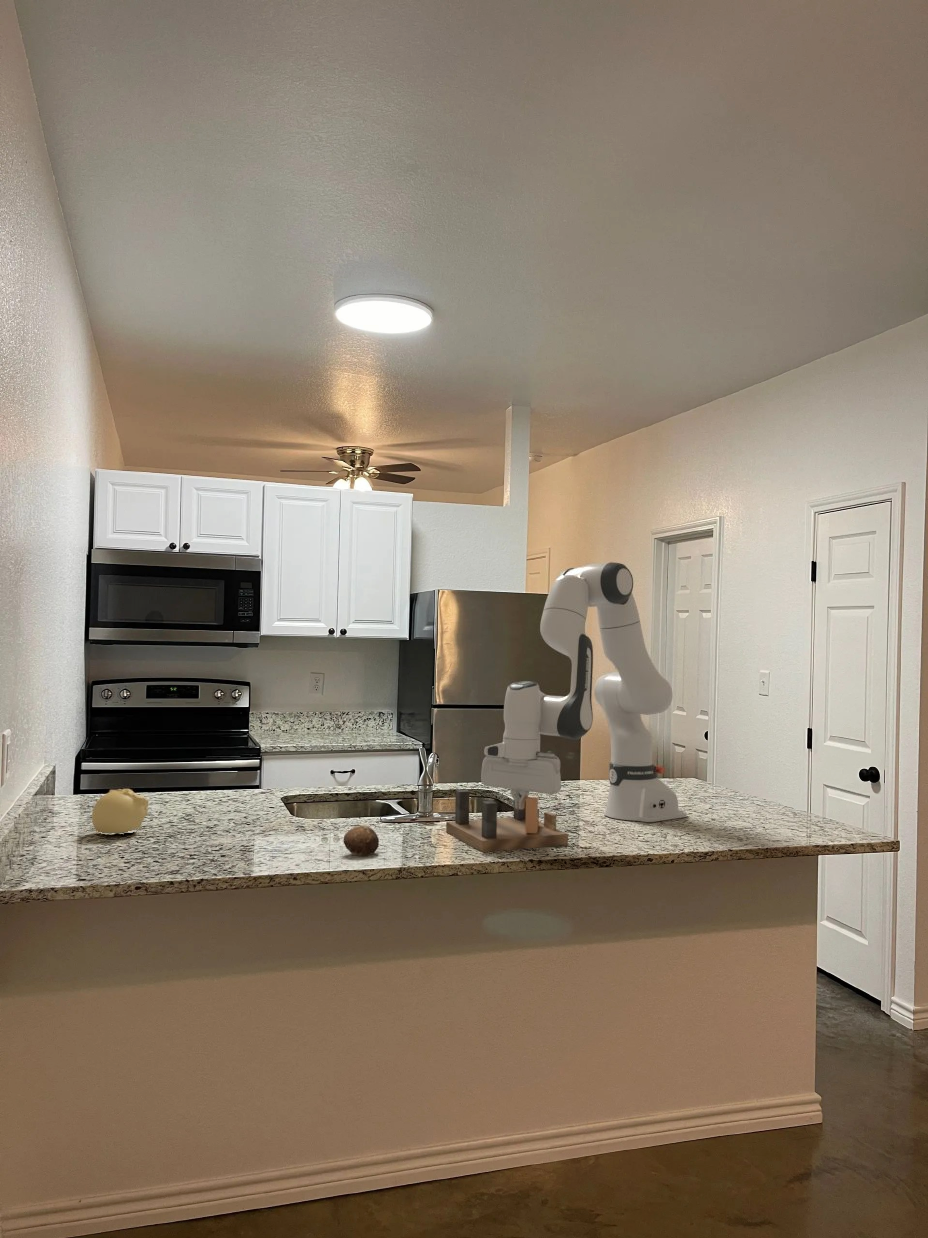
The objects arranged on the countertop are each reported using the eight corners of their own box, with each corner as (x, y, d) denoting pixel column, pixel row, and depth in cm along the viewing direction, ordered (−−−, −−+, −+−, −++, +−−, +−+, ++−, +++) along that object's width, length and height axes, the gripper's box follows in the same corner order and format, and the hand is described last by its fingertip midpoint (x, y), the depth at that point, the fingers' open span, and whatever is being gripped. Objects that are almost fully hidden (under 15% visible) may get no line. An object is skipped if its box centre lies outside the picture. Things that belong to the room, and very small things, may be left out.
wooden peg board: (525, 825, 239) (526, 784, 239) (567, 844, 219) (568, 799, 219) (446, 832, 230) (446, 789, 230) (482, 852, 210) (482, 805, 210)
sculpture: (155, 831, 226) (155, 787, 226) (117, 841, 215) (118, 795, 216) (119, 827, 231) (120, 783, 231) (81, 836, 220) (82, 790, 220)
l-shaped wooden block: (529, 825, 226) (529, 792, 226) (539, 825, 226) (540, 792, 226) (525, 833, 218) (525, 798, 218) (536, 833, 217) (537, 799, 217)
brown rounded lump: (343, 833, 212) (352, 814, 209) (376, 846, 213) (385, 828, 210) (335, 857, 205) (344, 838, 202) (368, 871, 206) (378, 852, 203)
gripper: (566, 753, 217) (565, 812, 217) (492, 745, 229) (490, 802, 228) (553, 755, 212) (552, 816, 212) (478, 747, 223) (476, 805, 223)
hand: (519, 809), depth 220 cm, fingers closed
